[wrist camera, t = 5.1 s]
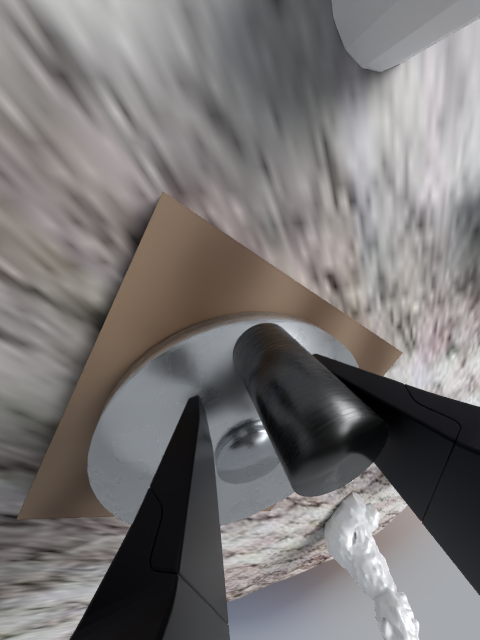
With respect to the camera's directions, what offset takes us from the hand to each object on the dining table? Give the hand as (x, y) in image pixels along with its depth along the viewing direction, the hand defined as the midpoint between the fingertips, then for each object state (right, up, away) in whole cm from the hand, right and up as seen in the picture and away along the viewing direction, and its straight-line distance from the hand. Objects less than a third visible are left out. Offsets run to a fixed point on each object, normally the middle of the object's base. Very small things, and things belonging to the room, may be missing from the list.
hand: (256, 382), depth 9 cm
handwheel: (-1, -5, +5) cm, 7 cm away
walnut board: (-1, -4, +7) cm, 8 cm away
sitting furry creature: (+15, -26, +22) cm, 37 cm away
